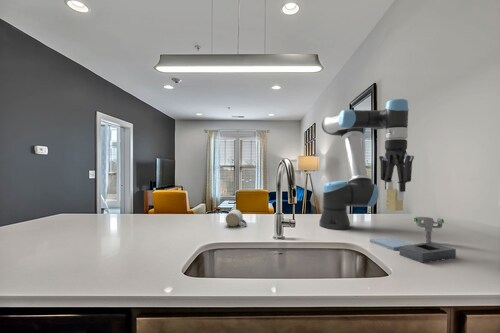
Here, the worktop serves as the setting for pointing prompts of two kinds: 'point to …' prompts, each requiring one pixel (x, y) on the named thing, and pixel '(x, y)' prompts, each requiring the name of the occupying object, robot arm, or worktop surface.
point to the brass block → (393, 200)
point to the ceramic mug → (235, 218)
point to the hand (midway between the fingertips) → (394, 199)
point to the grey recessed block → (427, 252)
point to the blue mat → (389, 243)
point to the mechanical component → (428, 225)
